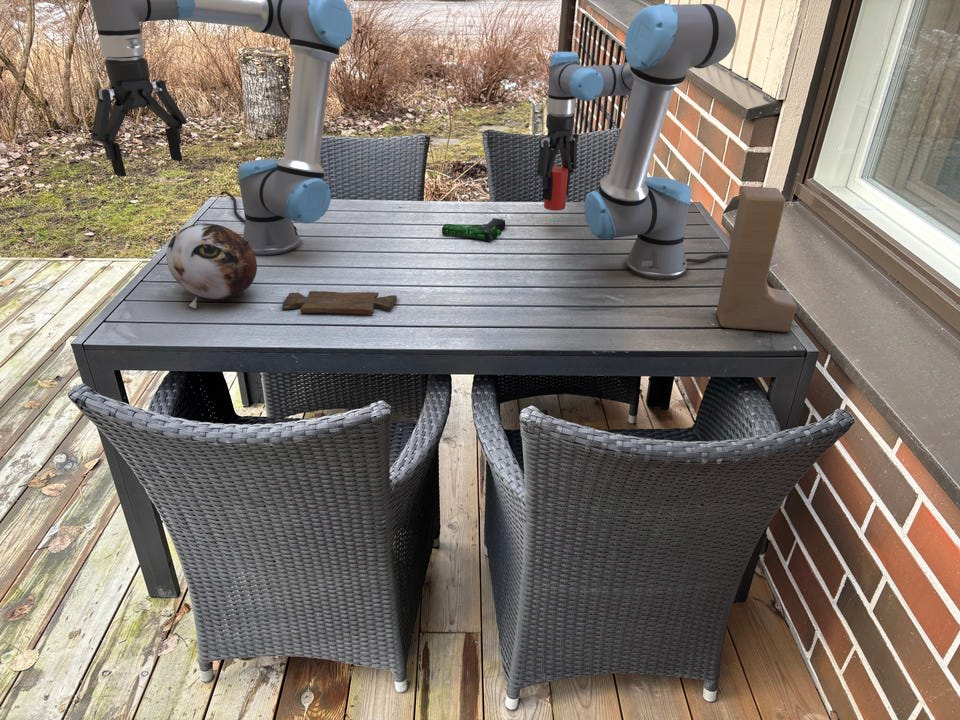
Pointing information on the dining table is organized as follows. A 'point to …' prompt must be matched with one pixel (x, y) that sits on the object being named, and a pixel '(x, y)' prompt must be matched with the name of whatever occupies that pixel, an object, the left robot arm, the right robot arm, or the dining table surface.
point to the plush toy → (211, 261)
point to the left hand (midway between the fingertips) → (149, 167)
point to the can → (557, 189)
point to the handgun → (476, 230)
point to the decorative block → (754, 266)
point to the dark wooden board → (338, 302)
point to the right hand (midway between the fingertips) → (555, 196)
